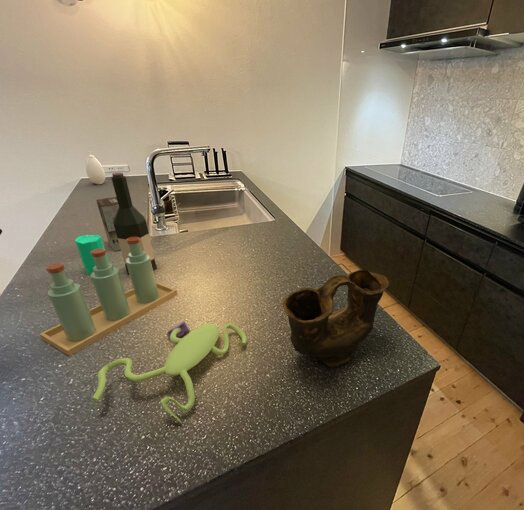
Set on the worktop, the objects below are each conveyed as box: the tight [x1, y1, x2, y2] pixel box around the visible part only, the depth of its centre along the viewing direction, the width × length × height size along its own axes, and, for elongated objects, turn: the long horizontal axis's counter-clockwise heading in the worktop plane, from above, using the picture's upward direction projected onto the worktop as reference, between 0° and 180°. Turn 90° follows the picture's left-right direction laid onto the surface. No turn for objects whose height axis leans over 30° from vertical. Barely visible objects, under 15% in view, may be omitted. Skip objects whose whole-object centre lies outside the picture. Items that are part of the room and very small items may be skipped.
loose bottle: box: [45, 262, 96, 341], centre depth 65 cm, size 5×5×18 cm
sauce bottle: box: [85, 151, 106, 185], centre depth 166 cm, size 8×8×18 cm
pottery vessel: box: [281, 269, 390, 369], centre depth 67 cm, size 25×11×20 cm, turn 127°
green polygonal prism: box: [74, 233, 110, 275], centre depth 91 cm, size 6×6×12 cm
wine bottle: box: [110, 172, 158, 276], centre depth 88 cm, size 8×8×30 cm
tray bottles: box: [90, 237, 159, 321], centre depth 75 cm, size 13×5×18 cm, turn 155°
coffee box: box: [96, 196, 121, 252], centre depth 105 cm, size 9×6×16 cm
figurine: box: [91, 320, 248, 424], centre depth 62 cm, size 18×27×6 cm
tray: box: [39, 281, 179, 357], centre depth 76 cm, size 26×10×2 cm, turn 155°
